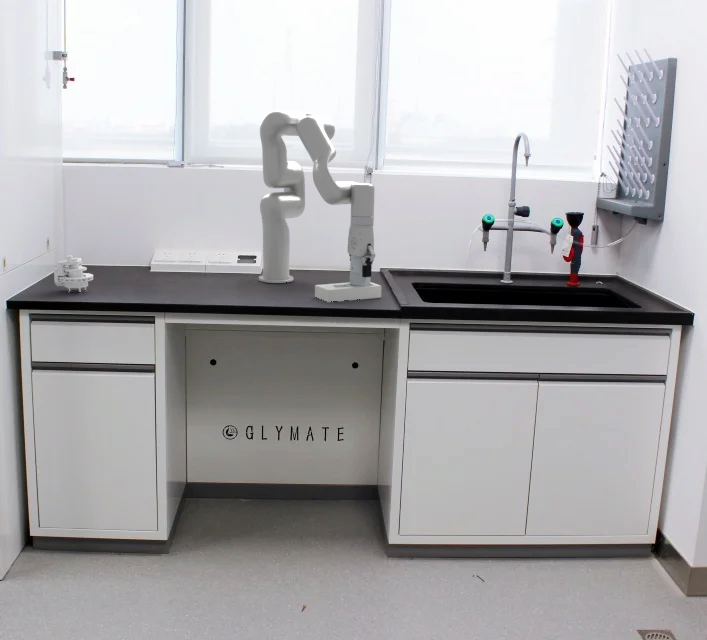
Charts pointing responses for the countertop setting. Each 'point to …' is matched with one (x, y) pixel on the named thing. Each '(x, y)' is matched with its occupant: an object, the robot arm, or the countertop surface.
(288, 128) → the robot arm
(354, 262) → the skincare box
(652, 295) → the countertop surface
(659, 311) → the countertop surface
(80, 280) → the mechanical part
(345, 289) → the holder
